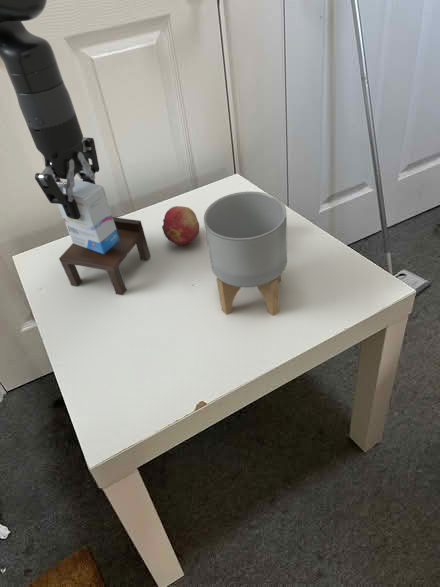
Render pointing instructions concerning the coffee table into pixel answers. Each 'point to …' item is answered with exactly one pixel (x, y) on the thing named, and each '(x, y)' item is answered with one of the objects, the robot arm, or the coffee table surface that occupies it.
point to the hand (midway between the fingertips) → (84, 208)
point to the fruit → (180, 225)
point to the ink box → (91, 218)
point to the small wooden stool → (108, 254)
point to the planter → (247, 245)
